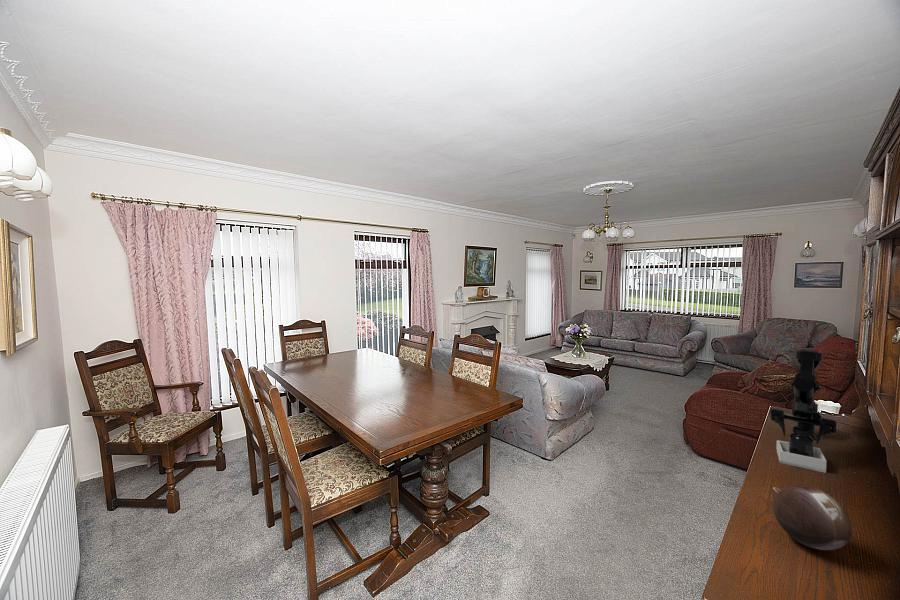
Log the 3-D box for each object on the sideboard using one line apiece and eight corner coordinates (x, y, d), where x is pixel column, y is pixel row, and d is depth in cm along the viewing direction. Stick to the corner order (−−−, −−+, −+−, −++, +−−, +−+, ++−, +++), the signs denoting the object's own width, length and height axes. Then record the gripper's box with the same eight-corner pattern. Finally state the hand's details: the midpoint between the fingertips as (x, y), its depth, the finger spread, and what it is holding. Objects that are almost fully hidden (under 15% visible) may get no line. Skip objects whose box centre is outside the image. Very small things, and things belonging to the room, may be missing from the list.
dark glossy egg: (825, 570, 88) (828, 511, 88) (759, 530, 103) (760, 479, 102) (865, 557, 92) (868, 500, 92) (796, 520, 107) (797, 471, 106)
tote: (776, 450, 150) (776, 440, 150) (819, 459, 142) (819, 448, 142) (779, 462, 140) (780, 451, 140) (825, 472, 132) (826, 461, 132)
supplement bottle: (809, 456, 142) (810, 427, 142) (815, 464, 137) (817, 433, 136) (786, 452, 146) (787, 423, 145) (791, 460, 140) (792, 429, 139)
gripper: (771, 389, 150) (766, 422, 143) (837, 399, 136) (835, 436, 129) (773, 403, 156) (769, 435, 149) (836, 414, 142) (835, 451, 135)
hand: (800, 439), depth 140 cm, fingers open, 9 cm apart
